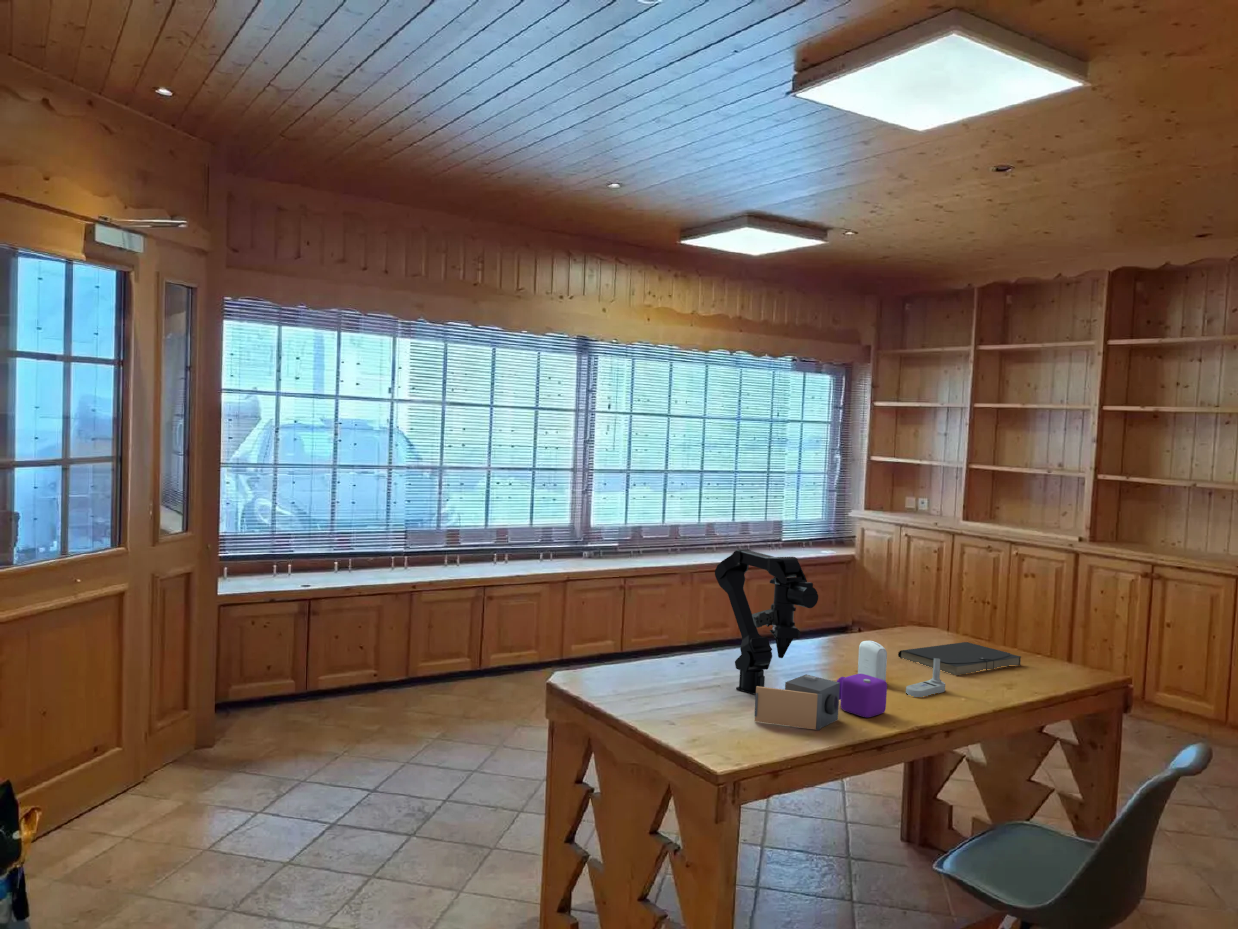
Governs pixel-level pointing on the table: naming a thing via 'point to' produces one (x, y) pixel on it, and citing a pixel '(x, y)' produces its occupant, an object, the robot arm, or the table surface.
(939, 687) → the electronic device
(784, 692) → the side door
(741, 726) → the table surface
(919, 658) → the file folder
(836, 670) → the table surface
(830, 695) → the camera case
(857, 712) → the toy camera
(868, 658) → the photo printer
